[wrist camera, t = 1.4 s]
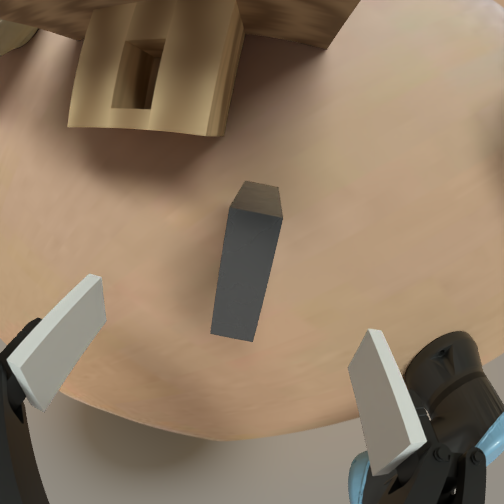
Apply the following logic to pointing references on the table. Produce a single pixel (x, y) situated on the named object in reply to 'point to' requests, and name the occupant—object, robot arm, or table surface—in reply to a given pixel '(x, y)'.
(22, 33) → the planter bowl
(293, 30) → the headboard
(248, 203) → the grey slab
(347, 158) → the table surface
